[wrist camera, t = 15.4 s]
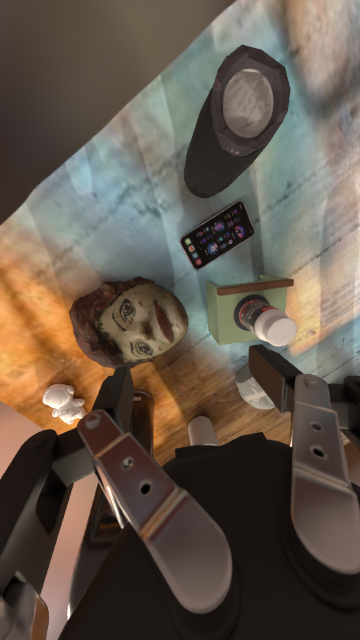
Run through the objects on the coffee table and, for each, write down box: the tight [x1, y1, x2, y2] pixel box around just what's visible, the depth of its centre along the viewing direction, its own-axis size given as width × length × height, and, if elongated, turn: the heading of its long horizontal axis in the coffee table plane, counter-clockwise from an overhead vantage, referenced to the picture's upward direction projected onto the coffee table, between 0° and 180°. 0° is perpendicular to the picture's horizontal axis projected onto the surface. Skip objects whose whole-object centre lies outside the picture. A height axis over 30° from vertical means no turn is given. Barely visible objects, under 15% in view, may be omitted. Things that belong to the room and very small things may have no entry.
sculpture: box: [69, 277, 188, 369], centre depth 40 cm, size 21×10×25 cm
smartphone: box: [179, 201, 255, 270], centre depth 40 cm, size 8×1×15 cm
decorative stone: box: [235, 362, 275, 409], centre depth 52 cm, size 13×10×6 cm
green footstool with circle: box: [206, 274, 294, 345], centre depth 41 cm, size 12×14×10 cm
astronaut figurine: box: [43, 384, 87, 424], centre depth 48 cm, size 9×12×3 cm
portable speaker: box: [184, 45, 290, 198], centre depth 28 cm, size 9×9×20 cm
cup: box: [188, 416, 219, 446], centre depth 54 cm, size 7×10×9 cm
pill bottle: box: [239, 300, 297, 346], centre depth 34 cm, size 6×6×10 cm
